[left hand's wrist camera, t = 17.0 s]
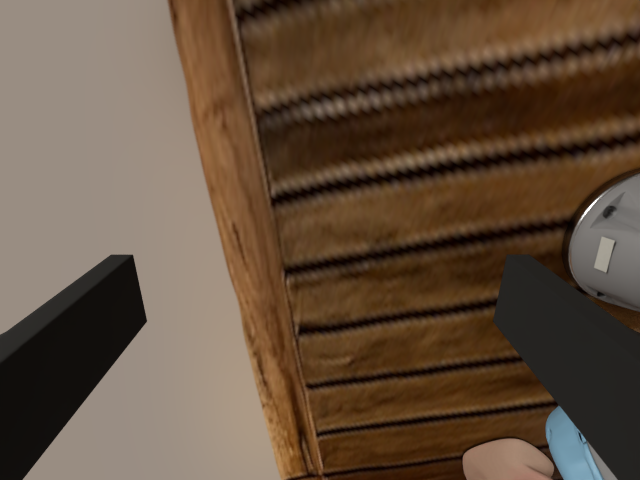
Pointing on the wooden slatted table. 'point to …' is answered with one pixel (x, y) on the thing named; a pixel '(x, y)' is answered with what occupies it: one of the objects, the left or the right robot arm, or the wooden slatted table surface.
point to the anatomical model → (506, 461)
